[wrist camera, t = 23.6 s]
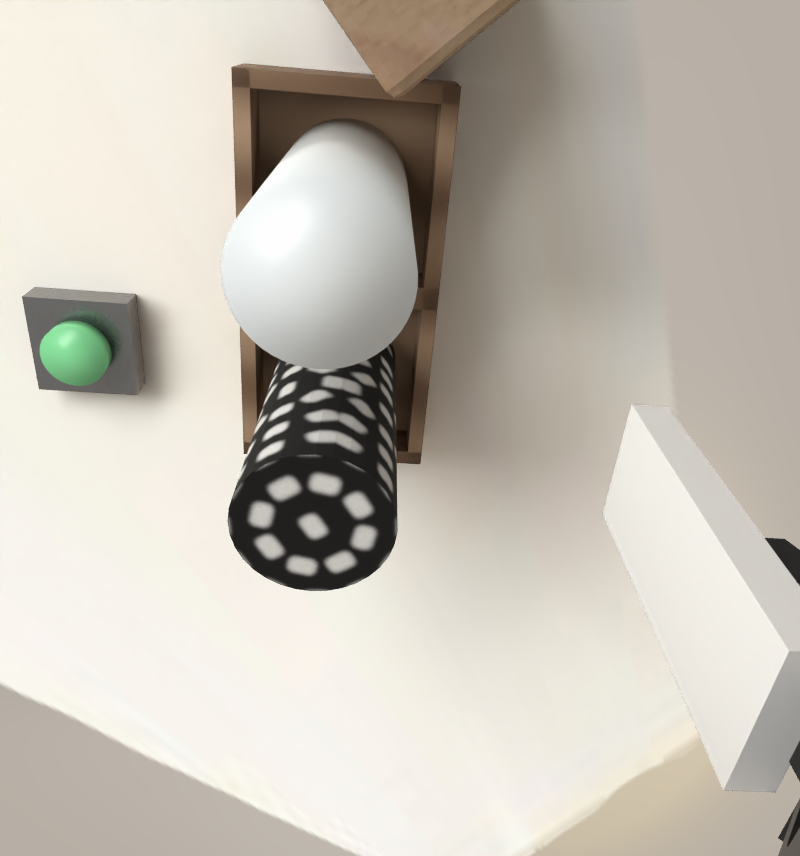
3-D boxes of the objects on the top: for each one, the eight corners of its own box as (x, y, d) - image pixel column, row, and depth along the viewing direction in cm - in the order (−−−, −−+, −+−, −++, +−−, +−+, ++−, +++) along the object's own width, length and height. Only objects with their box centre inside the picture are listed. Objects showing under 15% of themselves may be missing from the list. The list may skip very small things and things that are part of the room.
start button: (53, 308, 51) (34, 324, 48) (117, 312, 51) (101, 329, 49) (63, 365, 53) (45, 384, 50) (123, 368, 53) (109, 387, 51)
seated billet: (283, 112, 45) (216, 169, 27) (411, 123, 45) (427, 186, 28) (283, 241, 49) (224, 363, 31) (402, 250, 49) (409, 374, 32)
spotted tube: (259, 340, 52) (193, 500, 35) (358, 286, 50) (341, 425, 33) (320, 428, 56) (288, 612, 38) (415, 380, 54) (427, 551, 36)
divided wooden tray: (243, 63, 44) (231, 66, 41) (455, 81, 45) (461, 86, 41) (252, 427, 57) (243, 453, 53) (418, 437, 57) (420, 464, 54)
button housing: (34, 287, 51) (22, 296, 49) (135, 294, 51) (126, 303, 49) (50, 377, 54) (39, 389, 52) (145, 383, 55) (137, 395, 53)
